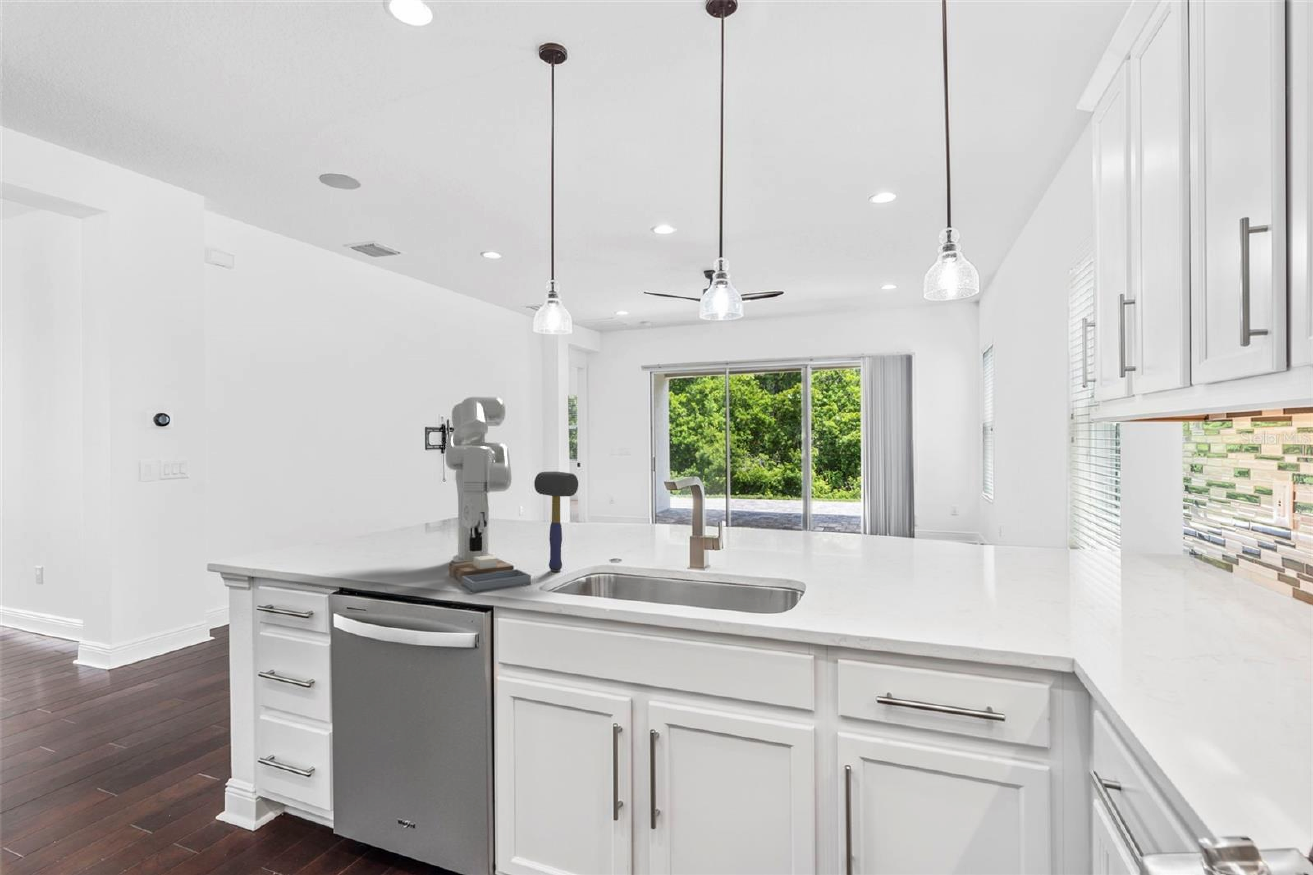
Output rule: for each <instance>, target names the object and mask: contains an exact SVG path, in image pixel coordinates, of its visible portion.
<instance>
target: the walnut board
mask: <svg viewBox="0 0 1313 875" xmlns="http://www.w3.org/2000/svg"><path fill="white" fill-rule="evenodd" d="M448 566H449V568H448V569H449V570H448V572H449V573H448V574H449V576H450V577H452V578H453V577H454V578H453V579H455V580H457V581H458V582H460V583H461V584H462V576H468V575H476V574H484V573H492V572H499V571H507V570H515V569H514V565H513V564H511V563H508V562H506V561H504V560H501V559H499V558H497V567H493V568H485V569H479V568H477V567H475V566H474V560H473V561H464V562H450V563H449V565H448Z"/></svg>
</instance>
